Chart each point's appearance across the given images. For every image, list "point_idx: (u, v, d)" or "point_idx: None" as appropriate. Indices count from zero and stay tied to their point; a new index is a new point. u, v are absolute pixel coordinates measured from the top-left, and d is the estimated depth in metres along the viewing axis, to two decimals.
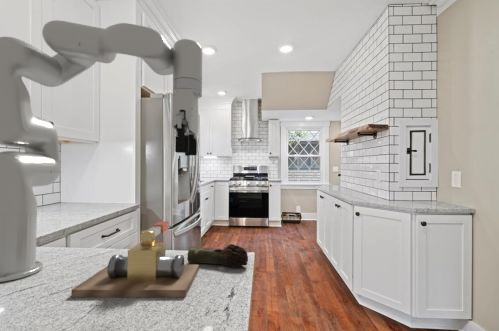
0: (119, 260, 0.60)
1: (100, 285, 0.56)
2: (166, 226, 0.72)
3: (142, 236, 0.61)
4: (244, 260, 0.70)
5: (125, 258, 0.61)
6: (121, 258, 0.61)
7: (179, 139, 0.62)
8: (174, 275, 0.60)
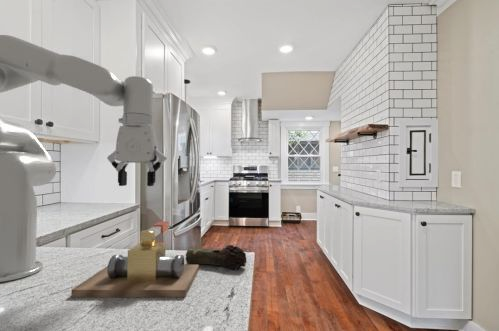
0: (119, 260, 0.60)
1: (100, 285, 0.56)
2: (166, 226, 0.72)
3: (142, 236, 0.61)
4: (242, 261, 0.69)
5: (125, 258, 0.61)
6: (121, 258, 0.61)
7: (154, 174, 0.72)
8: (174, 275, 0.60)
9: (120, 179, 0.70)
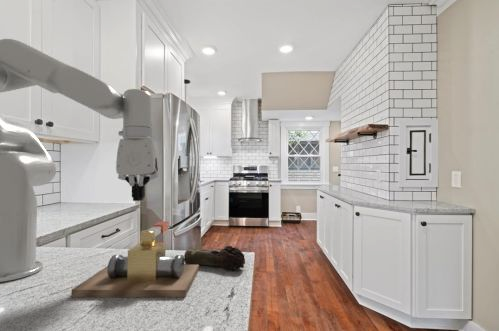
0: (119, 260, 0.60)
1: (100, 285, 0.56)
2: (166, 226, 0.72)
3: (142, 236, 0.61)
4: (240, 262, 0.68)
5: (125, 258, 0.61)
6: (121, 258, 0.61)
7: (143, 189, 0.71)
8: (174, 275, 0.60)
9: (134, 194, 0.70)
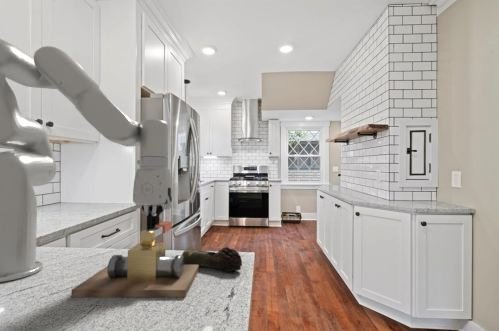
0: (119, 260, 0.60)
1: (100, 285, 0.56)
2: (169, 226, 0.72)
3: (141, 236, 0.61)
4: (237, 264, 0.67)
5: (125, 258, 0.61)
6: (121, 258, 0.61)
7: (156, 218, 0.71)
8: (174, 275, 0.60)
9: (148, 224, 0.70)
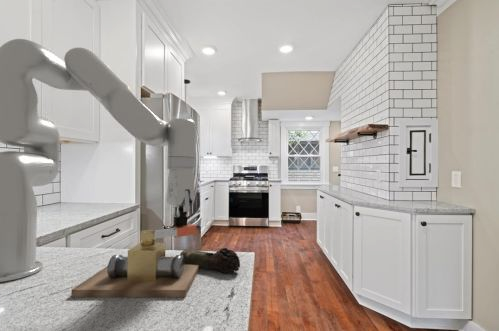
0: (119, 260, 0.60)
1: (100, 285, 0.56)
2: (189, 230, 0.67)
3: None
4: (235, 265, 0.66)
5: (125, 258, 0.61)
6: (121, 258, 0.61)
7: (181, 220, 0.69)
8: (174, 275, 0.60)
9: (174, 225, 0.70)
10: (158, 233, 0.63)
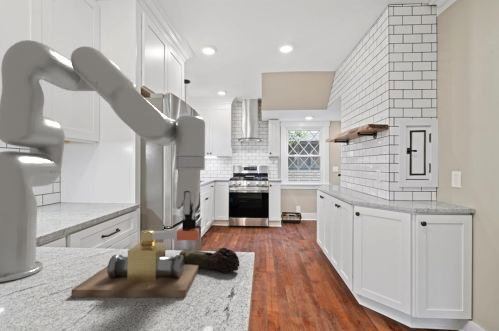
0: (119, 260, 0.60)
1: (100, 285, 0.56)
2: (189, 235, 0.62)
3: None
4: (234, 265, 0.66)
5: (125, 258, 0.61)
6: (121, 258, 0.61)
7: (187, 224, 0.65)
8: (174, 275, 0.60)
9: None
10: (156, 234, 0.61)
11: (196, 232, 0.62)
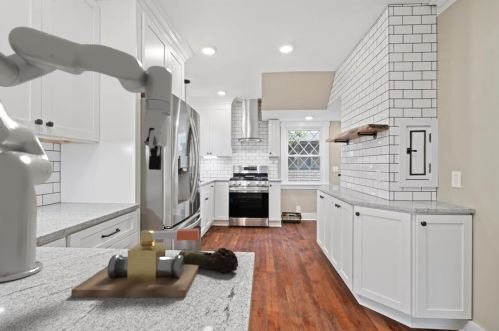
0: (119, 260, 0.60)
1: (100, 285, 0.56)
2: (189, 235, 0.62)
3: None
4: (233, 265, 0.66)
5: (125, 258, 0.61)
6: (121, 258, 0.61)
7: (152, 158, 0.76)
8: (174, 275, 0.60)
9: None
10: (156, 234, 0.61)
11: (196, 232, 0.62)
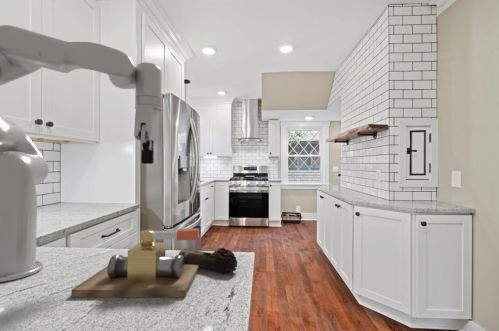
0: (119, 260, 0.60)
1: (100, 285, 0.56)
2: (189, 235, 0.62)
3: None
4: (231, 265, 0.66)
5: (125, 258, 0.61)
6: (121, 258, 0.61)
7: (145, 153, 0.78)
8: (174, 275, 0.60)
9: None
10: (156, 234, 0.61)
11: (196, 232, 0.62)
